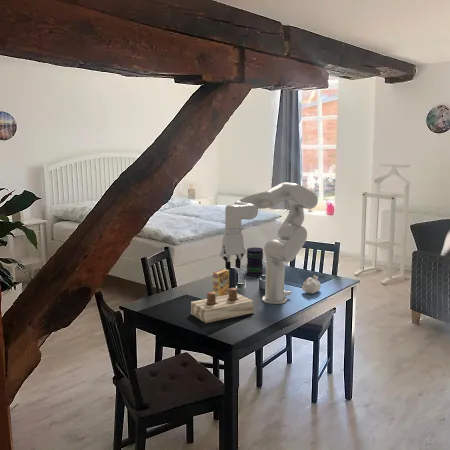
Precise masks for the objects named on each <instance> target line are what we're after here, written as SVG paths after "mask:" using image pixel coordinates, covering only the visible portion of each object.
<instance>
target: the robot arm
mask: <svg viewBox="0 0 450 450" xmlns="http://www.w3.org/2000/svg"><path fill="white" fill-rule="evenodd" d="M284 201H288V206H289V211H288V214H287V216H286V218H285V219H284V220H283V222H282V223H281V225H280V226H279V228H278V230H277V234H276V235H277V237H278V239H269V240H267V241H266V243H265V244H264V248H263V254H264V258H265V286H264V287H265V288H264V289H265V290H264V291H265V295H263V296H262V297H261V299H262V302H264V303H266V304H270V305H271V304H272V305H280V304H281V305H282V304H286V302H287V301H288V298H287V296H290V295H292V291H290V290H289V291H287V290H285V273H286V272H285V267H286V266H285V263H290V262H292V261H294V260H295V259H296V257H297V255H298V254H299V252H300V251H301V249H302V247H303V246H304V245H305V243H306V241H307V239H308V238H307V237H308V231H307V229H306V228H305V227H304V226H302V225H303V223H304V221H305V213H304V212H305V211H304V209H306V210H309V209H310V210H311V209H315V207H316V206H317V205H318V203H319V198H318V196H317V194H316V193H315V192H314V191H312V190H310V189H308V188H306V187H304V186H302V185H301V184H298V183H295V182H281V183H279V184H276V185H274V186H273V187H270V188H269V189H267V190H265V191H262V192H258V193H254V194H250V195H247V196H245V197H243V198H240V199H238V200H236V201H235V202H234V203H231V204H227V205H225V212H224V213H225V214H224V215H225V216H224V217H225V218H224V219H225V220H224V221H225V222H224V223H225V225H224V226H225V227H224V233H223V235H222V236H223V237H222V241H221V251H220V253H219V257H220V258H222V259H223V260H224V261H225V270H229V271H231V267H232V266H231V260H230V259H231V256H235V257H236V258H235V262H234V263H235V268H237V269H241V265H242V262H241V261H242V260H243V257H244V255H246V254H247V249H245V247H244V246H245V245H244V243H245V242H244V237H243V235H244V234H243V233H242V232H243V231H244V227H242V220H249V221H250V220H254V219H256V218H257V216H258V214H259V209H261V210H262V209H263V210H264V209H270V208H273V207H276V206H277V205H278V204H280V203H283V202H284ZM284 262H285V263H284Z"/></svg>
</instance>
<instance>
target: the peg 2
mask: <svg viewBox="0 0 450 450" xmlns="http://www.w3.org/2000/svg"><path fill="white" fill-rule="evenodd" d="M237 293H238V289H237V288H236V287H229V300H230V301H235V300H237Z"/></svg>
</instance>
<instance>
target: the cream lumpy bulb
mask: <svg viewBox="0 0 450 450" xmlns="http://www.w3.org/2000/svg"><path fill="white" fill-rule="evenodd" d="M318 279H319V277H318V276H316V275H315V274H314V275H313V276H312V277H306V279H305V280H304V281H303V283H302V285H301V290H302V291H303V292H305V293H306V294H309V293H310V295H314V294H315V293H317V292H319V291H320V290H321V286H322V285H321V282H320V281H319V280H318ZM313 293H314V294H313Z"/></svg>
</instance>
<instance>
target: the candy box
mask: <svg viewBox="0 0 450 450" xmlns="http://www.w3.org/2000/svg"><path fill="white" fill-rule="evenodd" d="M229 288H230V270H228V269H226V268H225V269H224V268H223V269H220V270H217V271H214V272H212V292H215V293H216V297H219V296H224V295H229Z"/></svg>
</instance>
